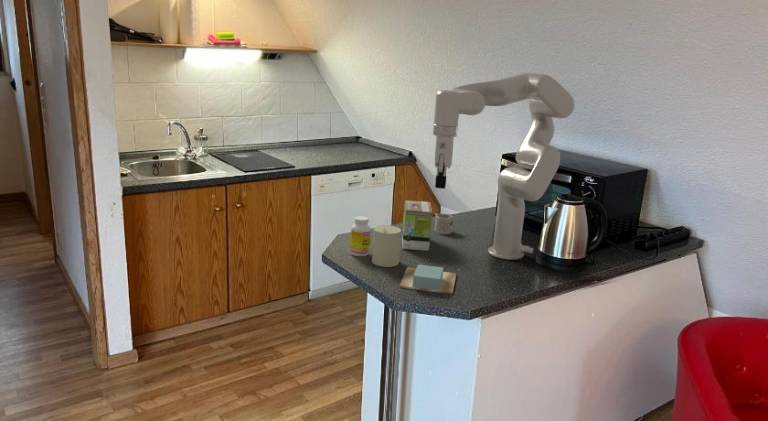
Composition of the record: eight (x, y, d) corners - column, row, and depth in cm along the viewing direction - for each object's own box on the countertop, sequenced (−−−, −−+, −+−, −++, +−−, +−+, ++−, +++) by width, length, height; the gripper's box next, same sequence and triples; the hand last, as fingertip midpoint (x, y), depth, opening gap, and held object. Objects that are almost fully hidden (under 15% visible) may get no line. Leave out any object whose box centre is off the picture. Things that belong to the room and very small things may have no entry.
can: (367, 263, 197) (369, 229, 194) (377, 255, 206) (379, 222, 203) (393, 268, 194) (396, 233, 191) (402, 260, 203) (405, 226, 200)
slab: (443, 267, 187) (440, 279, 177) (442, 278, 187) (439, 290, 178) (418, 264, 188) (413, 275, 178) (417, 275, 189) (412, 286, 179)
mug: (453, 234, 235) (455, 218, 233) (437, 234, 233) (438, 218, 231) (445, 227, 244) (447, 211, 242) (430, 227, 243) (431, 211, 241)
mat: (456, 275, 192) (456, 273, 192) (452, 294, 177) (452, 292, 177) (407, 269, 195) (407, 267, 195) (399, 287, 180) (399, 285, 180)
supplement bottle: (362, 258, 202) (364, 222, 199) (346, 253, 205) (347, 218, 202) (372, 253, 208) (375, 218, 204) (357, 249, 211) (359, 214, 207)
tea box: (429, 251, 214) (433, 211, 210) (401, 249, 214) (404, 209, 210) (427, 238, 228) (430, 200, 224) (401, 236, 228) (404, 199, 224)
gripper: (455, 134, 179) (450, 194, 184) (458, 128, 193) (453, 184, 198) (430, 132, 180) (425, 191, 185) (435, 126, 194) (431, 181, 199)
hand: (440, 187), depth 191 cm, fingers closed
